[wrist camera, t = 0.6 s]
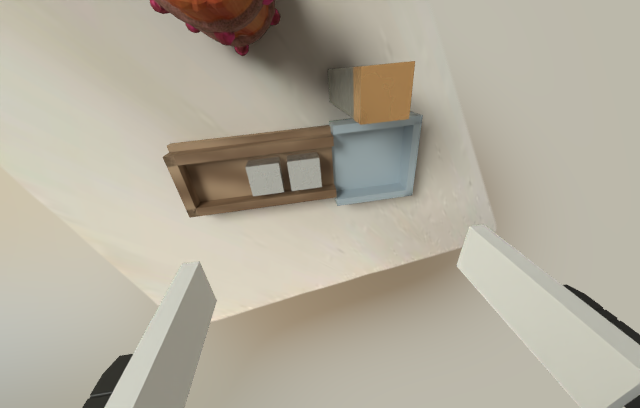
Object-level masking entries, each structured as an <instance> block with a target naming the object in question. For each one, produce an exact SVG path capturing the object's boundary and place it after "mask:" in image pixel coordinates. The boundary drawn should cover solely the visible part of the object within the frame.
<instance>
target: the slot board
mask: <svg viewBox="0 0 640 408" xmlns="http://www.w3.org/2000/svg"><path fill="white" fill-rule="evenodd" d="M332 146H334V140H333V135H332V134H331V128H330V126H329V125H326V126H317V127H309V128H300V129H292V130H283V131H275V132H266V133H258V134H249V135H241V136H232V137H223V138H215V139H206V140H198V141H189V142H181V143H172V144H169V145H167V148H168V150H169V153H168V154H166V155H165V156H164V157H163V159H164V161H165V163H166V166H167V168H168V170H169V172H170V174H171V177H172V179H173V181H174V183H175V186H176V188H177V190H178V192H179V195H180V197H181V199H182V201H183V204H184V206H185V208H186V210H187V212H188V215H189V217H197V216H204V215H211V214H218V213H226V212H233V211H240V210H247V209H255V208H262V207H269V206H276V205H283V204H291V203H298V202H305V201H312V200H320V199H327V198H334V197H337V193H336V188H335V185H334V176H333V160H332ZM311 152H317V153H318V156H319V160H320V171H321V182H322V187H319V188H311V189H304V190H297V191H292V190H291V184H290V178H289V172H288V166H287V155H295V154H303V153H311ZM271 157H279V159H280V164H281V170H282V175H283V181H284V192H282V193H274V194H267V195H259V196H253V194H252V191H251V187H250V183H249V179H248V176H247V172H246V168H245V167H246V164H247V162H248V160H255V159H263V158H271Z"/></svg>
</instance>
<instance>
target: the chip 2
mask: <svg viewBox="0 0 640 408" xmlns="http://www.w3.org/2000/svg"><path fill="white" fill-rule="evenodd" d="M287 166H288V172H289V178H290V184H291V190H292V191H297V190H304V189H311V188H319V187H322V182H321V171H320V160H319V156H318V153H317V152H311V153H303V154H295V155H287Z"/></svg>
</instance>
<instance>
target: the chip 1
mask: <svg viewBox="0 0 640 408" xmlns="http://www.w3.org/2000/svg"><path fill="white" fill-rule="evenodd" d="M245 168H246V172H247V176H248V179H249V183H250V187H251V191H252V194H253V196H259V195H267V194H274V193H282V192H284V181H283V175H282V170H281V164H280V159H279V157H271V158H263V159H255V160H248V162H247V164H246V167H245Z"/></svg>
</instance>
